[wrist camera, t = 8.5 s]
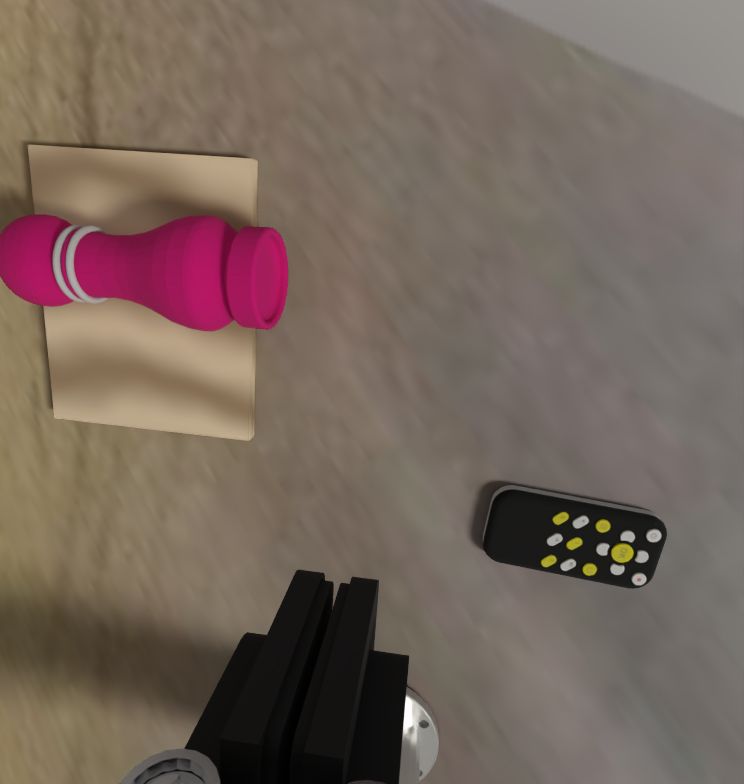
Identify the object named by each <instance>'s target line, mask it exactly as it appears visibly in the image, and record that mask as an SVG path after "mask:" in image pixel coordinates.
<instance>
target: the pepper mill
mask: <svg viewBox="0 0 744 784" xmlns="http://www.w3.org/2000/svg"><path fill="white" fill-rule="evenodd" d="M0 276H1V278H2V280H3V282H4V283H5V284H6V286H7V287H8V288H9V289H10V290H11V291H12V292H13V293H14V294H15V295H17V296H19V297H20V298H22V299H24V300H26V301H28V302H30V303H33V304H37V305H41V306H48V307H56V306H63V305H66V304H69V303H71V302H73V301H77V302H88V303H93V304H97V303H101V302H103V301H105V300H107V299H108V298H117V299H123V300H128V301H132V302H135V303H137V304H140V305H143V306H145V307H147V308H149V309H151V310H153V311H154V312H156V313H158V314H160V315H161V316H163V317H165V318H166V319H168V320H170V321H172V322H174V323H177V324H179V325H182V326H185V327H187V328H190V329H195V330H200V331H216V330H220V329H222V328H224V327H225V326H227V325H228V324H230V323H231V322H232V321H234V320H235V321H236V322H237V323H238V324H239V325H240V326H242V327H245V328H255V329H266V330H268V329H271V328H273V327H274V326H275V325H276V324H277V322H278V321H279V319H280V317H281V314H282V312H283V309H284V306H285V301H286V296H287V288H288V260H287V254H286V248H285V245H284V242H283V239H282V237H281V235H280V234H279V233H278V232H277V230H275V229H273V228H267V227H251V226H246V227H243V228H242V229H241V230H240V231H239V232H237V231H236V230H235V229H234V228H233V227H232V226H230V225H229V224H228V223H227V222H225V221H224V220H223V219H221V218H218V217H215V216H211V215H205V216H187V217H183V218H179V219H175V220H173V221H171V222H168V223H166V224H164V225H162V226H160V227H157V228H155V229H153V230H150V231H147V232H144V233H139V234H134V235H111V234H107V233H106V232H105V231H104V230H102V229H101V228H99V227H96V226H84V225H72V224H70V223H69V222H68V221H66V220H64V219H61V218H59V217H57V216H52V215H46V214H36V215H29V216H24V217H22V218H19V219H16V220H15V221H13V222H12V223H10V224H9V225H8V226H7V227H6V228H5V229H4V230H3V232H2V233H1V235H0Z"/></svg>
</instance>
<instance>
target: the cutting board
mask: <svg viewBox="0 0 744 784" xmlns="http://www.w3.org/2000/svg"><path fill="white" fill-rule="evenodd" d="M28 153H29V163H30V174H31V184H32V194H33V204H34V215H36V214H46V215H52V216H57V217H59V218H61V219H64V220H66V221H68V222H69V223H70V224H72V225H84V226H96V227H99V228H101V229H102V230H104V231H105V232H106V233H107V234H111V235H134V234H139V233H144V232H147V231H150V230H153V229H155V228H157V227H160V226H162V225H164V224H166V223H168V222H171V221H173V220H175V219H179V218H183V217H187V216H205V215H211V216H215V217H218V218H221V219H223V220H224V221H225V222H227V223H228V224H229V225H230V226H232V227H233V228H234V229H235V230H236V231H237V232H239V231H240V230H241V229H242V228H243V227H246V226H251V227H257V176H258V161H256V160H254V159H250V158H234V157H218V156H202V155H186V154H170V153H154V152H138V151H122V150H106V149H90V148H74V147H58V146H42V145H28ZM43 307H44V317H45V327H46V338H47V348H48V358H49V368H50V379H51V389H52V399H53V409H54V418H58V419H67V420H75V421H84V422H93V423H101V424H110V425H118V426H127V427H135V428H144V429H152V430H161V431H170V432H178V433H187V434H195V435H204V436H212V437H221V438H230V439H238V440H247V441H249V440H250V439H251V438H252V437H253V436H254V425H255V342H256V329H255V328H245V327H242V326H240V325H239V324H238V323H237V322H236V321H235V320H234V321H232V322H231V323H230V324H228V325H227V326H225V327H224V328H222V329H220V330H216V331H200V330H195V329H190V328H187V327H185V326H182V325H179V324H177V323H174V322H172V321H170V320H168V319H166V318H165V317H163V316H161V315H160V314H158V313H156V312H154V311H153V310H151V309H149V308H147V307H145V306H143V305H140V304H137V303H135V302H132V301H128V300H123V299H117V298H108V299H107V300H105V301H103V302H101V303H97V304H93V303H88V302H77V301H73V302H71V303H69V304H66V305H63V306H56V307H48V306H43Z"/></svg>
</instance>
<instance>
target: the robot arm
mask: <svg viewBox="0 0 744 784" xmlns="http://www.w3.org/2000/svg"><path fill="white" fill-rule="evenodd" d="M333 587H334V585H333V582H331V581H325V575H324V573H320V572H312V571H305V570H297V571H296V573H295V575H294V577H293V579H292V581H291V584H290V586H289V588H288V590H287V592H286V595H285V597H284V599H283V601H282V603H281V606H280V608H279V610H278V612H277V614H276V617H275V619H274V621H273V623H272V625H271V628H270V630H269V632H268V634H267V635H262V634H255V633H248V632H247V633H246V634H244V636H243V637H242V639H241V640H240V642H239V644H238V646H237V648H236V650H235V652H234V654H233V656H232V658H231V660H230V661H229V663H228V665H227V667H226V669H225V671H224V673H223V675H222V677H221V679H220V681H219V683H218V685H217V687H216V689H215V690H214V692H213V694H212V696H211V698H210V700H209V702H208V704H207V706H206V708H205V710H204V712H203V714H202V716H201V718H200V719H199V721H198V723H197V725H196V727H195V729H194V731H193V733H192V735H191V737H190V739H189V741H188V743H187V745H186V747H185V748H184V749H174V750H166V751H163V752H161V753H158V754H156V755H153V756H150V757H149V758H147V759H146V760H144V761H143V762H141V763H140V764H138V765H137V766H135V767H134V768H133V769H132V770H131V771H130V772H129V773H128V774H127V775H126V776H125V777H124V778H123V779H122V781H121V782H120V783H119V784H419V781H420V780H422V779H423V778H424V777H425V776H426V775H427V774H428V773H429V772H430V770H431V769H432V767H433V765H434V763H435V761H436V758H437V754H438V747H439V734H438V726H437V723H436V720H435V718H434V715H433V713H432V712H431V710H430V709H429V707H428V705H427V704H426V703H425V702H424V701H423V700H422V699H421V697H420V696H419V695H417V694H416V693H415V692H413V691H412V690H411V689H410V688H408V687H407V676H408V663H409V656H407V655H400V654H394V653H387V652H380V651H374V640H375V627H376V614H377V601H378V588H379V580H374V579H366V578H358V577H352V579H351V582H350V584H346V583H341V584H340V587H339V590H338V593H337V596H336V600H335V603H334V606H333ZM332 607H333V610H332Z"/></svg>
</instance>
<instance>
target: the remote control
mask: <svg viewBox="0 0 744 784" xmlns="http://www.w3.org/2000/svg"><path fill="white" fill-rule="evenodd" d="M666 536H667V531H666V527H665V525H664V523H663V522H662V520H661V519H660V518H659V517H658V516H657V515H656V514H654V513H653V512H651V511H648V510H644V509H638V508H633V507H628V506H623V505H617V504H612V503H607V502H601V501H596V500H591V499H585V498H580V497H575V496H569V495H564V494H559V493H553V492H548V491H543V490H537V489H532V488H527V487H521V486H516V485H507V486H504V487H501V488H499V489H498V490H497V491H496V492H495V493H494V494H493V496H492V499H491V502H490V507H489V511H488V515H487V520H486V524H485V528H484V532H483V540H482V541H483V547H484V550H485V552H486V554H487V555H488V556H489V557H490V558H491V559H493V560H494V561H497V562H500V563H505V564H510V565H515V566H520V567H525V568H530V569H535V570H540V571H545V572H550V573H555V574H560V575H565V576H570V577H575V578H580V579H585V580H590V581H595V582H600V583H605V584H610V585H615V586H620V587H625V588H639V587H642V586H644V585H646V584H647V583H648V582H649V581H650V580H651V579H652V577H653V575H654V572H655V569H656V566H657V564H658V561H659V558H660V555H661V552H662V549H663V546H664V543H665V541H666Z"/></svg>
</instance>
